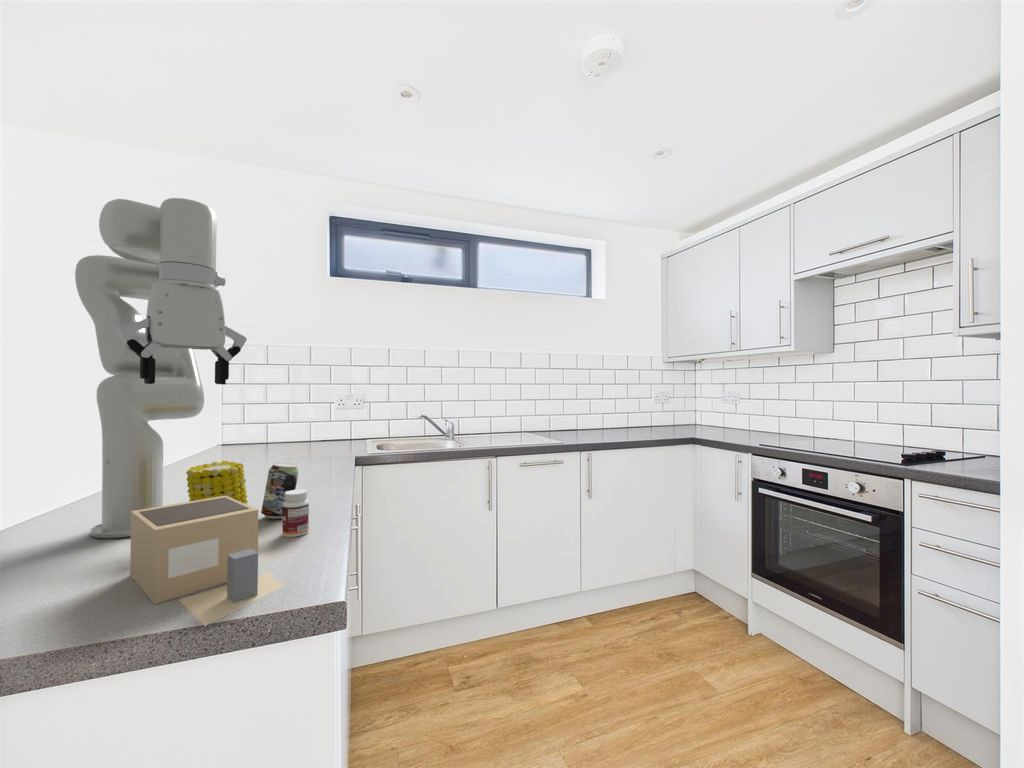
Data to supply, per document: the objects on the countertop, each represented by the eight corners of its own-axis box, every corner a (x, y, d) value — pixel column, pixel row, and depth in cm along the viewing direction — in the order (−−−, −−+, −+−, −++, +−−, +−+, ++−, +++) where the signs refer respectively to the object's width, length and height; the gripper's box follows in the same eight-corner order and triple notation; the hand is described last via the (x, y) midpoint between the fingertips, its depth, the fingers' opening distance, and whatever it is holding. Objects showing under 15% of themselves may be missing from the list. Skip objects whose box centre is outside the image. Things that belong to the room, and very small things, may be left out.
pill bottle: (283, 531, 90) (283, 490, 90) (309, 528, 92) (309, 488, 92) (280, 539, 86) (281, 495, 86) (308, 536, 88) (308, 493, 88)
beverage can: (257, 517, 100) (258, 463, 100) (292, 510, 105) (293, 460, 105) (265, 523, 95) (266, 467, 95) (301, 516, 100) (302, 463, 100)
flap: (178, 603, 61) (179, 556, 61) (270, 575, 71) (270, 534, 71) (206, 632, 54) (206, 578, 54) (303, 596, 64) (304, 551, 64)
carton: (130, 575, 69) (130, 510, 69) (225, 551, 79) (225, 494, 79) (154, 604, 60) (155, 529, 60) (258, 573, 70) (258, 509, 70)
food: (257, 538, 90) (200, 556, 82) (229, 516, 97) (174, 530, 88) (263, 467, 88) (205, 479, 80) (234, 449, 94) (178, 458, 86)
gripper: (238, 290, 82) (236, 383, 82) (113, 271, 68) (111, 383, 69) (254, 286, 77) (253, 384, 77) (124, 264, 64) (122, 384, 64)
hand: (186, 383), depth 73 cm, fingers open, 9 cm apart
